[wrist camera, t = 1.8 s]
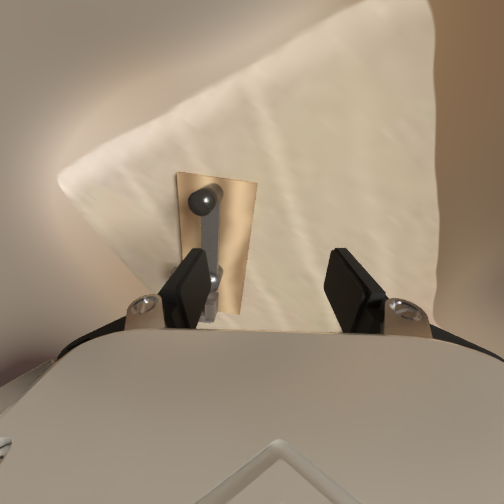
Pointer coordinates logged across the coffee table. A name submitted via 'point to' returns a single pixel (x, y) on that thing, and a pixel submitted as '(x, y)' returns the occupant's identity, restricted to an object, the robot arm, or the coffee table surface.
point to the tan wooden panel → (221, 236)
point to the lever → (209, 227)
